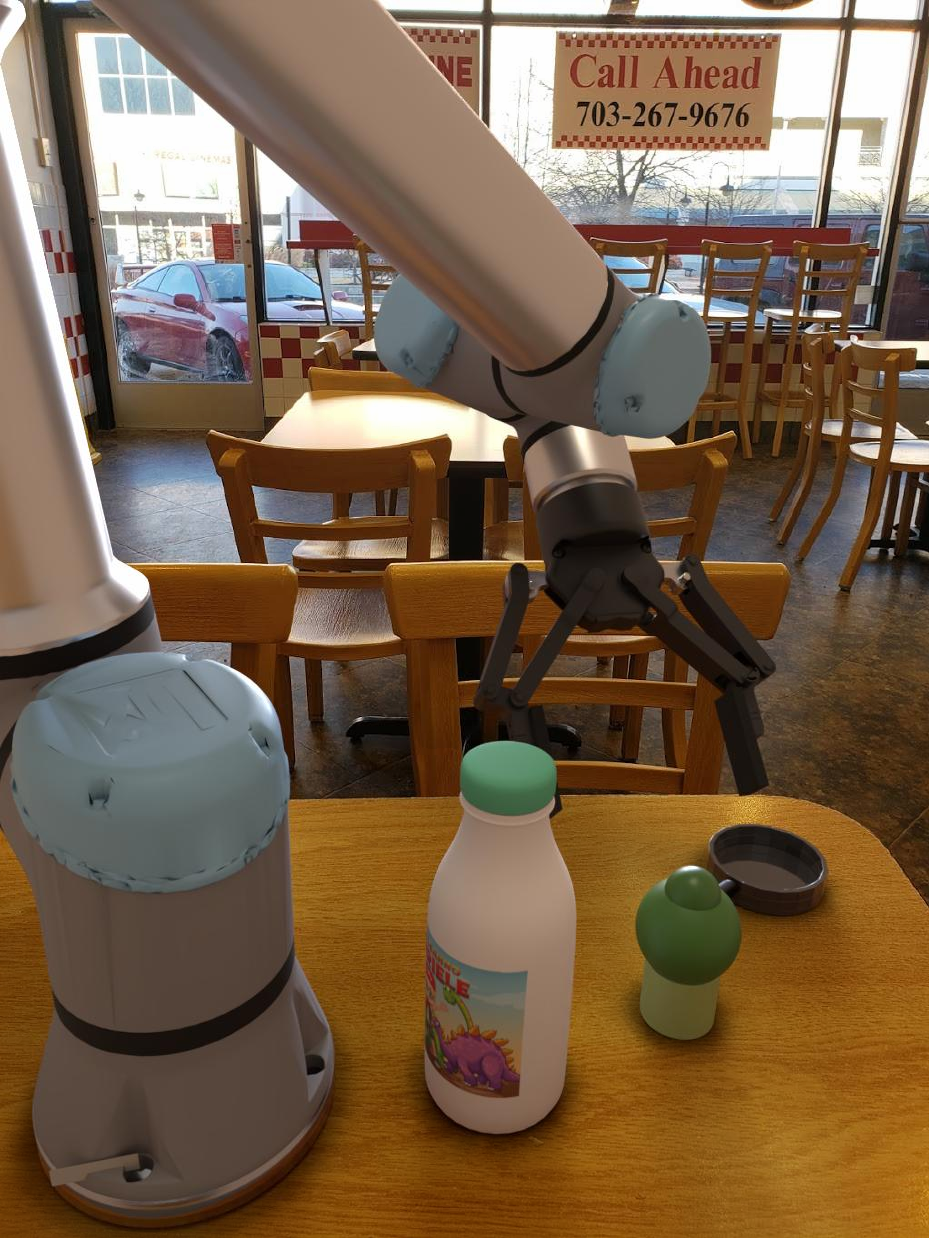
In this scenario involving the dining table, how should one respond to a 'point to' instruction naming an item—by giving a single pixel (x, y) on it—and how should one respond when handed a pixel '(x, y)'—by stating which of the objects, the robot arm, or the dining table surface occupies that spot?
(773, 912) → the pan
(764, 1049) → the dining table surface
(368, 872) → the dining table surface
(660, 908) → the broccoli
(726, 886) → the pan handle
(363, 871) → the dining table surface
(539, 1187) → the dining table surface
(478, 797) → the milk bottle
